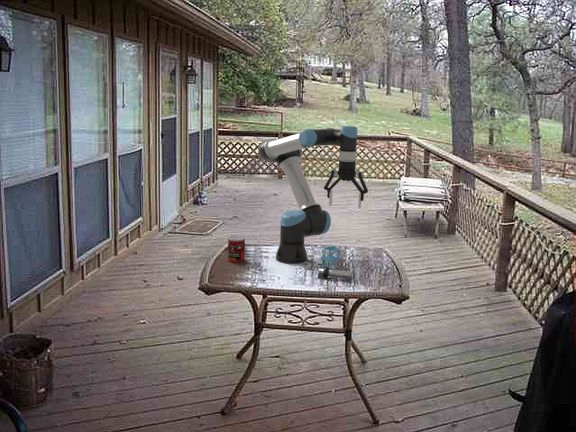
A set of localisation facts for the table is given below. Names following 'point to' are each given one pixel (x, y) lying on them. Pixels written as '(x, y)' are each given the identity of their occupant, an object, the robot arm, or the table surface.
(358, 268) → the table surface
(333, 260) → the chair
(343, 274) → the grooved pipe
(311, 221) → the robot arm
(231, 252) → the canned food
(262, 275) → the table surface
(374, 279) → the table surface
